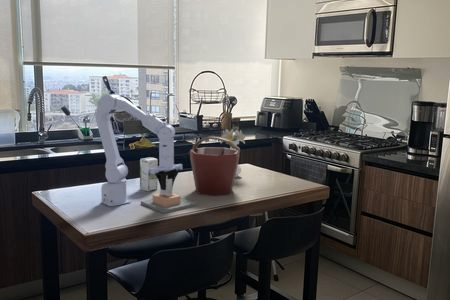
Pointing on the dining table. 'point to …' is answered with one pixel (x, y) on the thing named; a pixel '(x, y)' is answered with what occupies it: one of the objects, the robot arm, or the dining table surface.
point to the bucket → (214, 168)
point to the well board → (168, 203)
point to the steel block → (167, 188)
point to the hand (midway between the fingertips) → (166, 188)
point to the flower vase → (235, 138)
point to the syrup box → (148, 174)
